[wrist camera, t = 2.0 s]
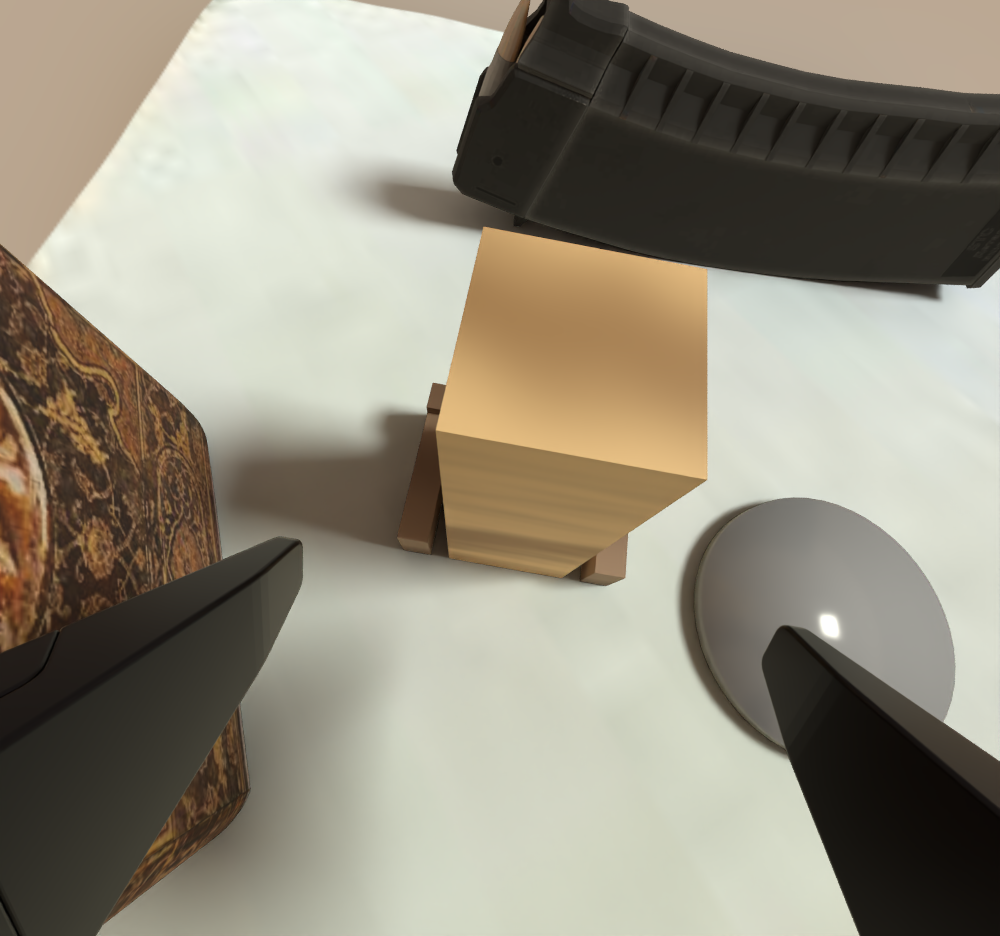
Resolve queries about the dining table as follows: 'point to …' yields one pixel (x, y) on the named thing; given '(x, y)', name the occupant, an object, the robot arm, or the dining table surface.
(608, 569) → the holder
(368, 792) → the dining table surface
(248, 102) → the dining table surface
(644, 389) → the oak block
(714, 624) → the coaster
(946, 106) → the magazine
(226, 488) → the dining table surface
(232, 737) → the book
